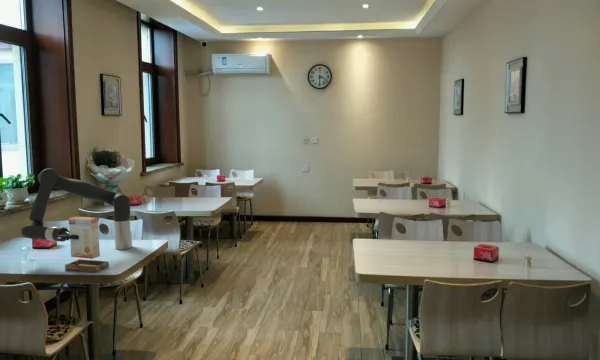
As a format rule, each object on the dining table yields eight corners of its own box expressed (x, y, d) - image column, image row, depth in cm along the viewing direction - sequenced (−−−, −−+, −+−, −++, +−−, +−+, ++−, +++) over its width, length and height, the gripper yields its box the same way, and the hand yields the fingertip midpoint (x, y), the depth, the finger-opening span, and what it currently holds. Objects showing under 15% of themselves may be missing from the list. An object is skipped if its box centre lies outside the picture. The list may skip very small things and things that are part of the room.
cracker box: (100, 256, 265) (98, 217, 263) (92, 259, 260) (89, 219, 257) (79, 254, 270) (76, 215, 267) (70, 257, 264) (68, 217, 261)
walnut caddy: (79, 264, 273) (79, 259, 273) (108, 266, 268) (108, 261, 268) (65, 270, 263) (64, 264, 263) (95, 272, 258) (94, 267, 258)
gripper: (45, 230, 261) (72, 231, 256) (66, 224, 275) (92, 226, 270) (46, 244, 262) (73, 246, 257) (67, 237, 276) (92, 239, 271)
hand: (82, 235), depth 264 cm, fingers closed on cracker box, 6 cm apart
